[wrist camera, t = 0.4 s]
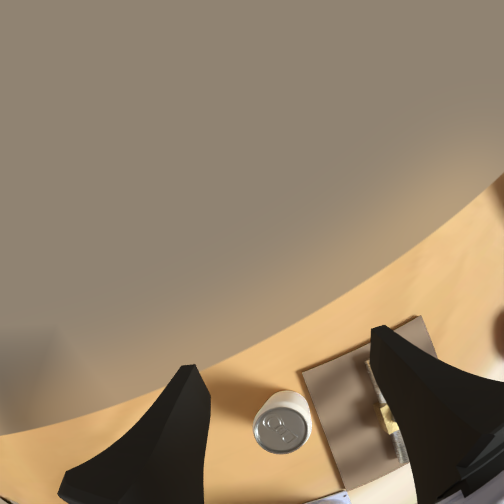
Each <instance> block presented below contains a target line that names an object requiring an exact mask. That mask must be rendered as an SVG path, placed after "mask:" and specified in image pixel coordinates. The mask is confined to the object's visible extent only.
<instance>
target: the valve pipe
mask: <svg viewBox="0 0 504 504" xmlns="http://www.w3.org/2000/svg"><path fill="white" fill-rule="evenodd" d="M369 360H370V358H368V359H367V360H365V361H364V363H365V365H366V368H367V370H368V373H369V376H370V378H371V381H372V384H373V386H374V389H375V392H376V395H377V397H378V400H379V401H378V402H376V403H374V404H373V406H374V409H375V412H376V415H377V418H378V421H379V424H380V427H381V429H383V430H384V431H385V432H386V433H388V434H389V435H390V436H391V439H392V442H393V445H394V449H395V452H396V455H397V459H398V462H399V463H407V462H409V458H408V454H407V451H406V447H405V444H404V441H403V438H402V435H401V432H400V430H399V427H398V425H397V423H396V422H394V421H393V420H392V417H391V415H392V413H391V411H390V409H389V407H388V405H387V403H386V401H385V399H384V397H383V395H382V393H381V391H380V389H379V388H378V386H377V384H376V381H375V378H374V376H373V373H372V370H371V367H370V365H369Z"/></svg>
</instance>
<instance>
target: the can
mask: <svg viewBox="0 0 504 504" xmlns="http://www.w3.org/2000/svg"><path fill="white" fill-rule="evenodd" d="M311 430H312V421H311V415H310V410H309V406H308V403H307V401H306V400H305V398H304V397H303V396H302V395H300V394H299V393H297V392H294V391H288V390H287V391H280V392H277V393H275V394H273V395H272V396H271V397H270V398H269V399H268V400H267V401H266V403H265V404H264V405H263V406H262V408H261V409H260V410H259V411H258V413H257V414H256V416H255V418H254V421H253V434H254V436H255V439H256V441H257V443H258V444H259V445H260V446H261V447H262V448H263V449H264V450H266V451H268V452H270V453H274V454H288V453H291V452H294V451H295V450H297V449H299V448H300V447H301V446H302V445H303V444H304V443H305V442H306V441H307V440H308V438H309V436H310V434H311Z"/></svg>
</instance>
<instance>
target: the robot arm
mask: <svg viewBox="0 0 504 504" xmlns="http://www.w3.org/2000/svg"><path fill="white" fill-rule="evenodd" d="M369 365H370V367H371V370H372V373H373V376H374V378H375V381H376V384H377V386H378V388H379V389H380V391H381V393H382V395H383V397H384V399H385V401H386V403H387V405H388V407H389V409H390V411H391V413H392V415H393V417H394V419H395V421H396V423H397V425H398V427H399V430H400V432H401V435H402V438H403V441H404V444H405V447H406V451H407V454H408V458H409V461H410V465H411V469H412V473H413V478H414V483H415V488H416V494H417V502H418V504H504V382H500V381H495V380H491V379H487V378H483V377H480V376H477V375H473V374H470V373H468V372H465V371H462V370H460V369H458V368H455V367H453V366H451V365H449V364H447V363H445V362H443V361H441V360H439V359H437V358H435V357H433V356H432V355H430V354H428V353H426V352H425V351H423V350H421V349H420V348H418V347H417V346H415V345H414V344H412V343H411V342H409V341H408V340H406V339H405V338H403V337H402V336H400V335H399V334H397V333H396V332H394V331H393V330H392V329H390V328H389V327H387V326H386V325H382V326H379V327H375V328H372V329H371V343H370V360H369ZM210 413H211V395H210V393H209V391H208V389H207V387H206V385H205V383H204V381H203V379H202V377H201V375H200V373H199V371H198V369H197V367H196V365H195V364H193V365H183V366H181V367H180V369H179V370H178V371H177V373H176V374H175V375H174V377H173V378H172V379H171V381H170V382H169V384H168V385H167V386H166V388H165V389H164V390H163V392H162V393H161V394H160V396H159V397H158V398H157V400H156V401H155V402H154V403H153V405H152V406H151V407H150V408H149V409H148V411H147V412H146V413H145V414H144V415H143V416H142V418H141V419H140V420H139V421H138V422H137V423H136V424H135V425H134V426H133V427H132V428H131V429H130V430H129V431H128V432H127V433H126V434H125V435H123V436H122V437H121V438H120V439H119V440H117V441H116V442H115V443H114V444H112V445H111V446H110V447H108V448H107V449H106V450H104V451H103V452H101V453H100V454H98V455H97V456H95V457H93V458H92V459H90V460H88V461H87V462H85V463H83V464H81V465H79V466H77V467H74V468H72V469H70V470H68V471H66V472H65V475H64V478H63V480H62V483H61V485H60V488H59V491H58V493H57V494H58V496H59V497H60V498H61V499H63V500H64V501H66V502H67V503H69V504H204V488H203V470H204V457H205V450H206V444H207V437H208V430H209V423H210ZM344 495H346V496H344ZM304 504H351V502H350V499H349V496H348V494H347V491H342V492H339V493H336V494H333V495H330V496H327V497H324V498H321V499H318V500H314V501H311V502H307V503H304Z"/></svg>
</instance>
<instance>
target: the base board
mask: <svg viewBox="0 0 504 504" xmlns="http://www.w3.org/2000/svg"><path fill="white" fill-rule="evenodd" d="M393 331H394V332H396V333H397V334H399V335H400V336H402V337H403V338H405V339H406V340H408V341H409V342H411V343H412V344H414V345H415V346H417V347H418V348H420V349H421V350H423V351H425V352H426V353H428V354H430V355H432V356H433V357H435V358H437V355H436V352H435V349H434V346H433V344H432V341H431V338H430V336H429V333H428V331H427V328H426V326H425V323H424V321H423V319H422V316H421V315H420V316H418V317H416V318H415V319H413V320H411V321H410V322H408V323H406V324H404V325H402V326H401V327H399V328H397V329H395V330H393ZM370 343H371V342H370ZM370 343H368V344H366V345H364V346H362V347H360V348H358V349H356V350H354V351H351V352H349V353H347V354H345V355H343V356H340V357H338V358H336V359H334V360H331V361H329V362H327V363H324V364H322V365H319V366H317V367H314V368H312V369H309V370H307V371H304V372H302V375H303V377H304V380H305V383H306V385H307V388H308V390H309V393H310V396H311V398H312V401H313V404H314V406H315V409H316V411H317V414H318V417H319V419H320V422H321V425H322V427H323V430H324V433H325V435H326V438H327V441H328V443H329V446H330V448H331V451H332V454H333V456H334V459H335V462H336V464H337V467H338V470H339V472H340V475H341V478H342V480H343V483H344V486H345V488H346V491H350V490H353V489H355V488H358V487H360V486H362V485H365V484H367V483H369V482H372V481H374V480H376V479H378V478H380V477H382V476H384V475H387V474H389V473H391V472H393V471H395V470H396V469H398V468H400V467H402V466H404V465H406V464H408V463H409V462H410V461H409V462H407V463H399V462H398V459H397V455H396V452H395V449H394V445H393V442H392V439H391V436H390V435H389V434H388V433H386V432H385V431H384V430H383V429H381V427H380V424H379V421H378V418H377V415H376V412H375V409H374V406H373V404H374V403H376V402H378V401H379V400H378V397H377V395H376V392H375V389H374V386H373V384H372V381H371V378H370V376H369V373H368V370H367V368H366V365H365V363H364V361H365V360H367V359H368V358H370ZM437 359H438V358H437Z"/></svg>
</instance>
